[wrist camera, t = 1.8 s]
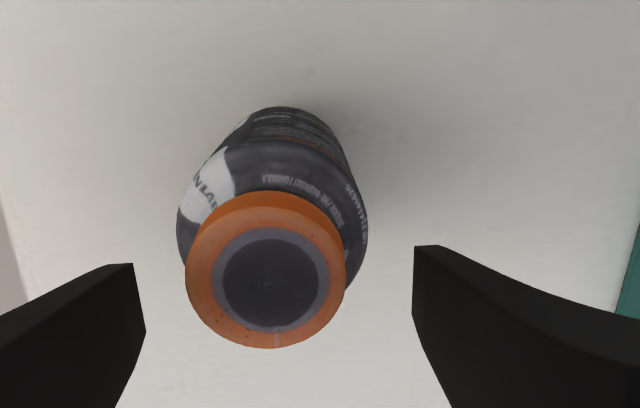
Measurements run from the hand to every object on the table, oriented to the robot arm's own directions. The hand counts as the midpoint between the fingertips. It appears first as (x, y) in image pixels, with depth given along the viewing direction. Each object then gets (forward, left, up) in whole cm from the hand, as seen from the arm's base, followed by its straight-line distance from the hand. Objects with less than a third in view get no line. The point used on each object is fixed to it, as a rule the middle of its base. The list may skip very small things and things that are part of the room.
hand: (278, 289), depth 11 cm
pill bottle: (-1, 0, -11) cm, 11 cm away
